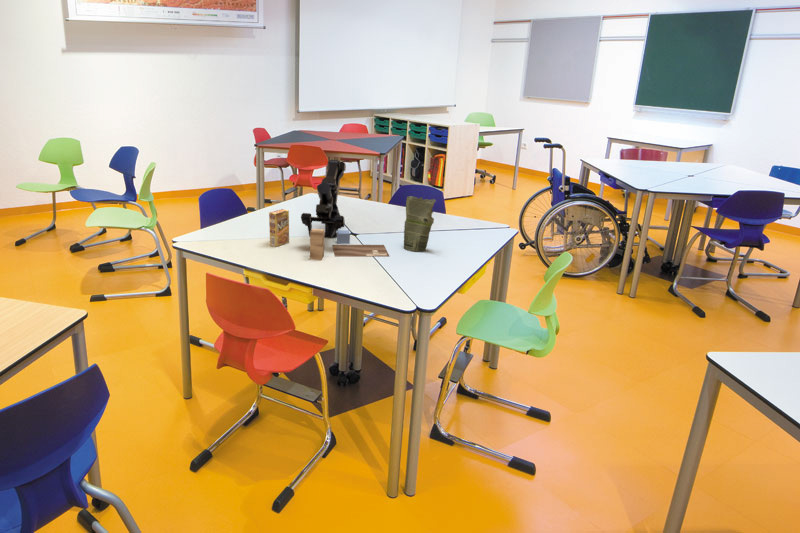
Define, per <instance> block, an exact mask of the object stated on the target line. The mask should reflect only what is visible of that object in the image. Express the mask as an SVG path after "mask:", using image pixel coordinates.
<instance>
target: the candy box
mask: <svg viewBox="0 0 800 533" xmlns="http://www.w3.org/2000/svg"><path fill="white" fill-rule="evenodd" d="M268 217H269V218H268V219H269V222H268V223H269V224H268V225H269V245H270V246H272V247H275V248H277V247H280V246H282V245H285V244H289V243H290V211H289V210H287V209H283V208H281V209H278V210H274V211H270V212H268Z"/></svg>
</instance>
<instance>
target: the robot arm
mask: <svg viewBox="0 0 800 533" xmlns="http://www.w3.org/2000/svg"><path fill="white" fill-rule="evenodd" d="M346 167H347V166H346V163H345V162H344V161H342V160H339V159H329V160H328V161H327V166H326V168H327V172H326V176H325V177H324V178H322V180H321V182H320V183H319V184H318V186H316V188H317V189H316V190H317V194H318V198H319V203H318V204H316V205H315V212H316V213H315V215H316V216H312V214H311V213H309V212H303V213H301V215H300V219H301V220H300V221H301V223H302V225H305V226H306V227H307V230H308V235H309V237H310V232H311V230H312V229H313V228H312V227H313V222H319V223H321V224H323V225H324V238H330V239H332V238H337V230H340V229H342V228H344V227H345V224H346V223H345V222H346V220H345V217H344V215H341V213H340V211H339V207H338V205H337V204H338V202H337V201H338V194H339V190H340V189H339V188H340V180H341V179H342V177H344V175H345V174H344V173H345V172H346V169H347V168H346Z"/></svg>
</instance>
